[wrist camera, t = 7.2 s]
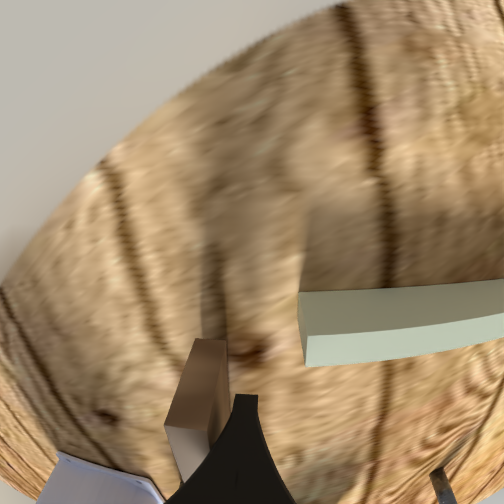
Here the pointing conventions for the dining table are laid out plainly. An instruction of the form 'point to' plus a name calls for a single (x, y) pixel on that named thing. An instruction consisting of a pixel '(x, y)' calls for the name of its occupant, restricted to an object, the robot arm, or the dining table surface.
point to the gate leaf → (199, 405)
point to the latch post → (442, 487)
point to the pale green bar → (398, 321)
